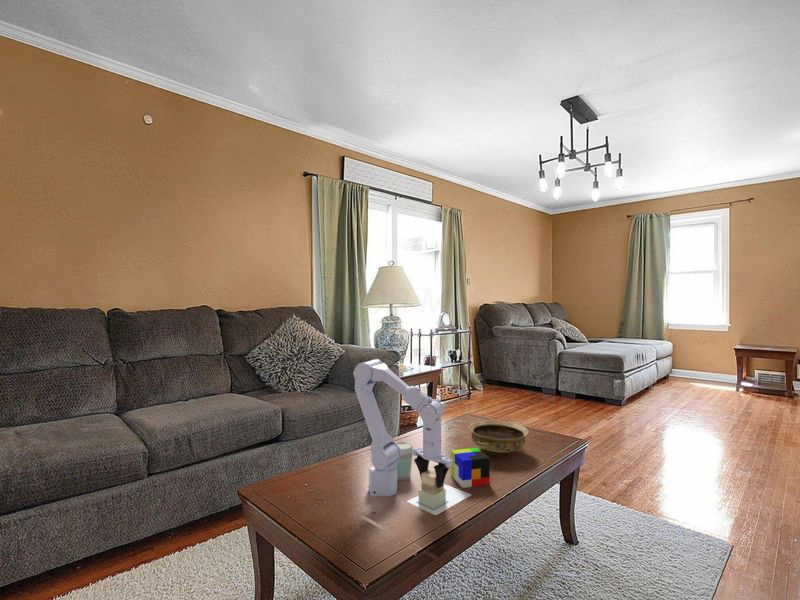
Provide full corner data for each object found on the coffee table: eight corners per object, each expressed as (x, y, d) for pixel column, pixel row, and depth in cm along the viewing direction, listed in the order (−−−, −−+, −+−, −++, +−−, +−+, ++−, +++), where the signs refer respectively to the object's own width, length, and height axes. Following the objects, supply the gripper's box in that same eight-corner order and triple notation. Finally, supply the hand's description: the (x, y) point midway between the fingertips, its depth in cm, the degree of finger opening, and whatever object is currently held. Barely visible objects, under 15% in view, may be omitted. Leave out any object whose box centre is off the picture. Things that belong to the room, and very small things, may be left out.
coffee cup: (416, 475, 155) (416, 442, 155) (410, 485, 147) (410, 450, 147) (393, 472, 158) (393, 440, 157) (386, 482, 149) (386, 448, 149)
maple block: (433, 494, 130) (433, 478, 130) (421, 489, 134) (421, 473, 134) (443, 488, 134) (443, 473, 134) (431, 484, 137) (431, 468, 137)
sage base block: (433, 508, 129) (433, 495, 129) (418, 502, 134) (418, 489, 134) (445, 501, 134) (445, 489, 134) (431, 495, 138) (431, 483, 138)
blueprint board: (435, 518, 126) (435, 515, 126) (406, 503, 134) (406, 501, 134) (471, 497, 138) (471, 494, 138) (442, 485, 147) (442, 482, 147)
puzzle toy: (462, 490, 143) (462, 460, 143) (451, 478, 153) (451, 450, 153) (489, 486, 146) (489, 457, 146) (476, 474, 156) (476, 447, 156)
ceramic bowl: (508, 471, 158) (508, 444, 158) (453, 455, 174) (453, 431, 174) (540, 448, 181) (540, 425, 181) (490, 436, 197) (490, 415, 197)
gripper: (458, 442, 131) (458, 486, 131) (423, 432, 141) (423, 472, 142) (444, 448, 126) (444, 494, 126) (408, 437, 136) (408, 479, 137)
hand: (432, 483), depth 134 cm, fingers open, 6 cm apart
